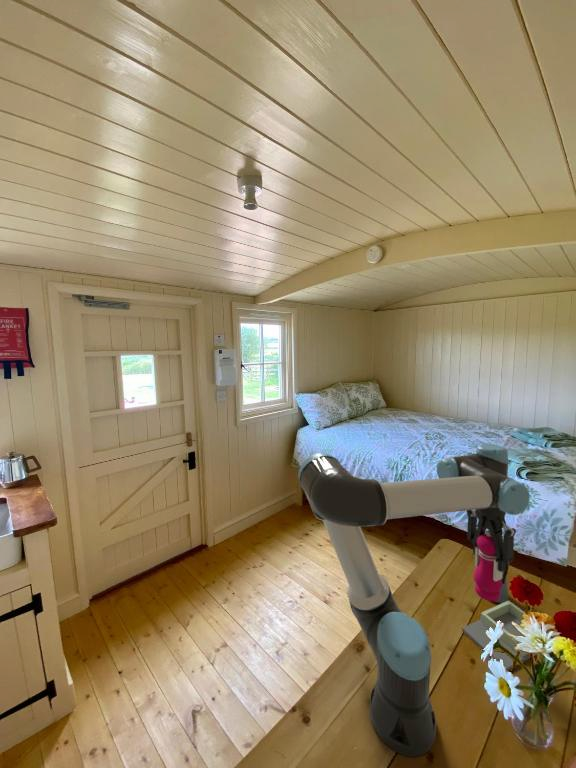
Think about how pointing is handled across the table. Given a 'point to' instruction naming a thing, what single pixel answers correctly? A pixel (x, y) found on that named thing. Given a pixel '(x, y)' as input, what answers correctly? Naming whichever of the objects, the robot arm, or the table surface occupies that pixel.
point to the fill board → (488, 619)
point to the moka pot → (504, 586)
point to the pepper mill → (486, 569)
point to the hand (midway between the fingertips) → (488, 572)
